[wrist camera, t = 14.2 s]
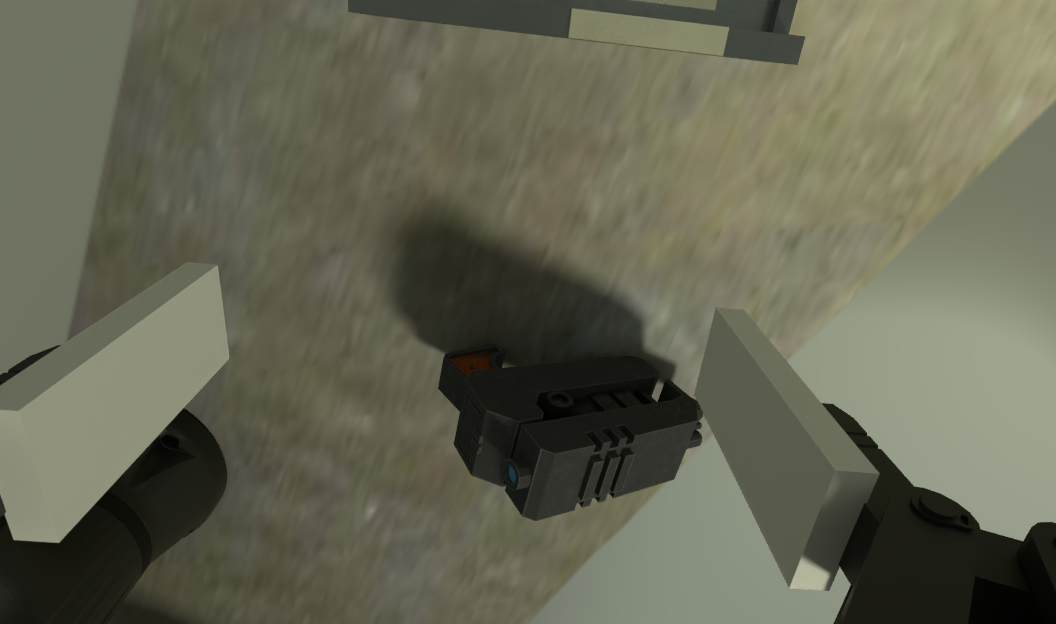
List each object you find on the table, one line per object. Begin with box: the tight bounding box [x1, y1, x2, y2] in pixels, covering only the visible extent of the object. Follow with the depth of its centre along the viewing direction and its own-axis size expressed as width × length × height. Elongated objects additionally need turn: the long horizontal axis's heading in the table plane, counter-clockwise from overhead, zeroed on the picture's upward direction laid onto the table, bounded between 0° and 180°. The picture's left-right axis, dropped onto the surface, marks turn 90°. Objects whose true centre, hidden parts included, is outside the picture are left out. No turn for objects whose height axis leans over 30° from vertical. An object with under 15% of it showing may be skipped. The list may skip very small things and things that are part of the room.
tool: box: [438, 344, 703, 521], centre depth 45 cm, size 6×19×15 cm
